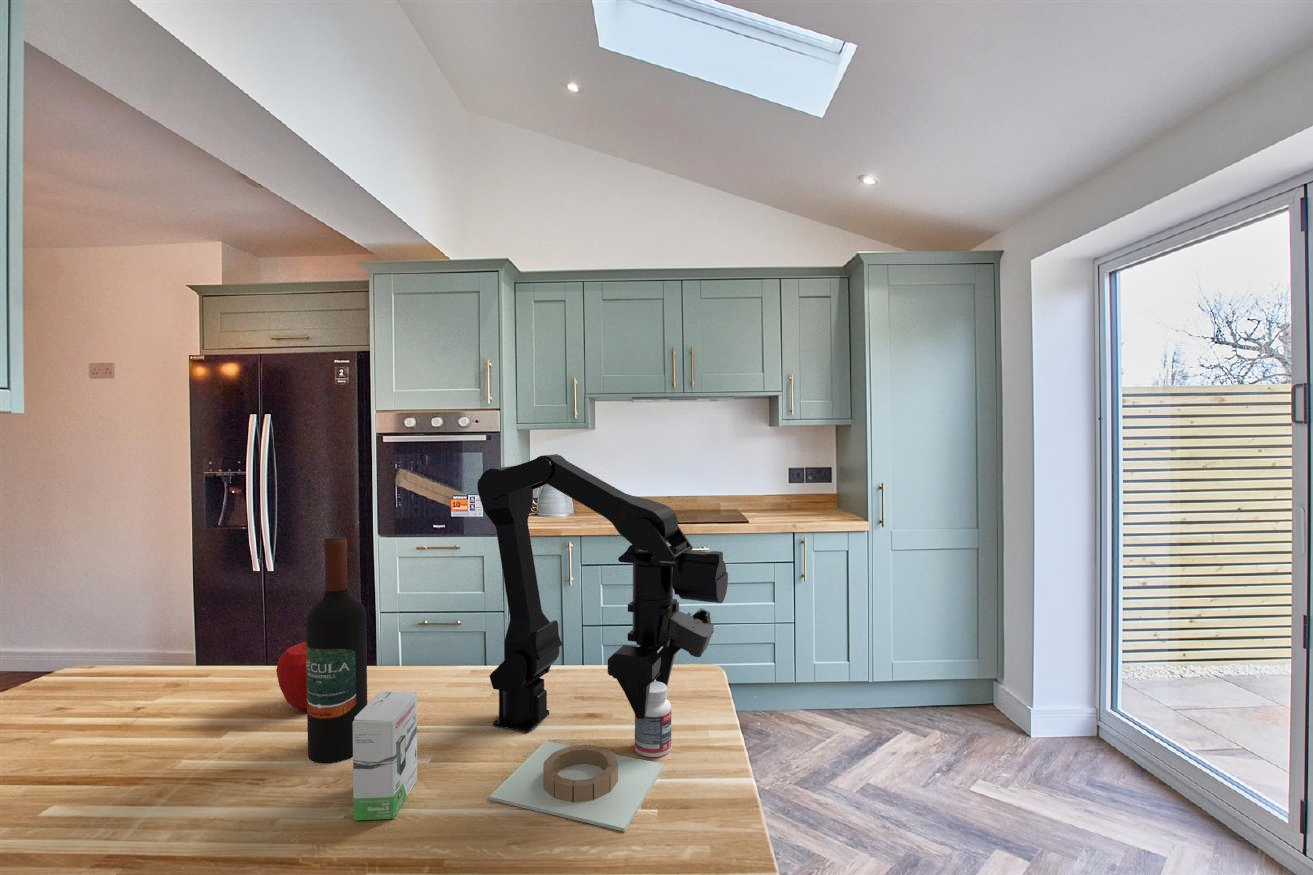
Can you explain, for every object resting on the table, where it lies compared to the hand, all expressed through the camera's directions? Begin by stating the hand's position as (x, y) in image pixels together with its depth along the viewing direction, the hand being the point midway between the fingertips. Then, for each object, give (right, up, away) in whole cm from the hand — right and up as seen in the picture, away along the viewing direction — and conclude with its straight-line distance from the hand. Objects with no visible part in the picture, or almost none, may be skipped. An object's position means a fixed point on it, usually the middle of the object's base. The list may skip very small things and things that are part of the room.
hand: (652, 703), depth 89 cm
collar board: (-9, -7, -8) cm, 14 cm away
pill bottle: (0, -7, 0) cm, 7 cm away
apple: (-56, -6, +13) cm, 58 cm away
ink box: (-33, -7, -12) cm, 35 cm away
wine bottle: (-44, -7, 0) cm, 45 cm away
